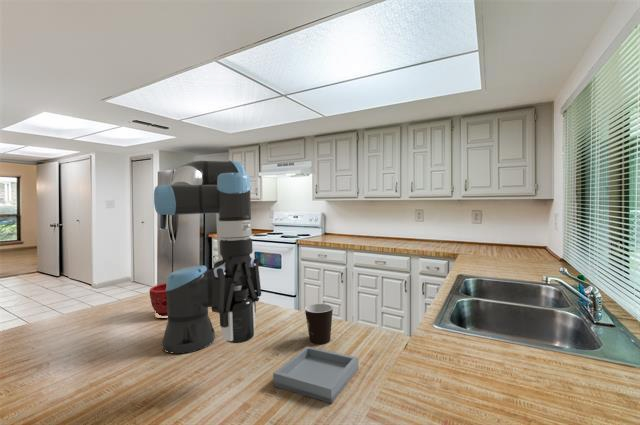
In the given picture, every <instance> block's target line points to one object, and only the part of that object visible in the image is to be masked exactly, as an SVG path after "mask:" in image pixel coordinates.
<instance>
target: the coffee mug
mask: <svg viewBox="0 0 640 425" xmlns="http://www.w3.org/2000/svg"><path fill="white" fill-rule="evenodd" d="M333 308H334V307H333V306H332V305H330V304H328V303H313V304H308V305H306V306H305V307H304V311H305V312H304V313H305V318H306V324H307V332H308V338H309V339H308V340H309V342H310V343H311V344H313V345H316V346H317V345H319V346H320V345H321V346H322V345H325V344H328V343H330V342H331V336H332V323H333V322H332V321H333V311H334V310H333Z"/></svg>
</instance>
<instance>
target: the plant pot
mask: <svg viewBox="0 0 640 425" xmlns="http://www.w3.org/2000/svg"><path fill="white" fill-rule="evenodd" d="M149 298H150V303H151V307H152V308H153V310H154V312H155V311H156V313H158V314H159V315H161V316H168V314H167V291H166V283H165V282H164V283H160V284H157V285H154V286H153V287H151V288H149Z"/></svg>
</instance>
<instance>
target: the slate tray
mask: <svg viewBox="0 0 640 425" xmlns="http://www.w3.org/2000/svg"><path fill="white" fill-rule="evenodd" d="M358 371H359V357H357V356H353V355H349V354H344V353H339V352H335V351H330V350H327V349H321V348H316V347H312V346H305V347H304V348H303V349H302V350H300V351H299V352H298V353H296V354H295V355H294V356H293V357H292V358H290V359H289V360H287V362H285V363H284V364H283V365H281V366H280V367H279V368H278V369H276V370H275V371H274V372H273V373H272V377H273V378H272V380H273V386H274V387H275V388H276V387H277V388H279V389H282V390H286V391H289V392H292V393H295V394H299V395H303V396H304V397H309V398H311V399H315V400H319V401H322V402H325V403H328V404H333V403H334V402H335V401H336V399H337V398H338V397H339V395H340V394H341V393H342V391H343V390H344V389H345V387H346V386H347V385H348V384H349V382H350V381H351V380H352V378H353V377H354V376H355V374H357V372H358Z"/></svg>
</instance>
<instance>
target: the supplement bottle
mask: <svg viewBox="0 0 640 425" xmlns="http://www.w3.org/2000/svg"><path fill="white" fill-rule="evenodd" d="M248 295H249V292H248V287H247V286H235V287H234V291H233V296H232V301H231V306H230V312H232V315H233V341H228V340H225V341H226V342H228V343H231V344H242V343H245V342H249V341H251V340H252V338H254V335H255V328H254V316H253V301H252V299H251V298H249V297H248ZM224 307H225V306H224Z"/></svg>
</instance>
